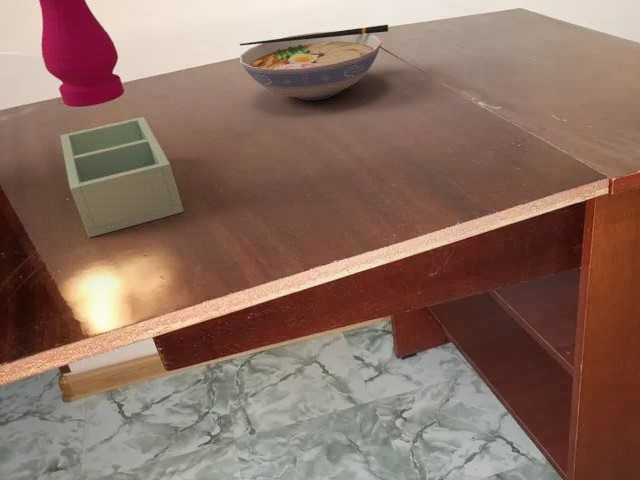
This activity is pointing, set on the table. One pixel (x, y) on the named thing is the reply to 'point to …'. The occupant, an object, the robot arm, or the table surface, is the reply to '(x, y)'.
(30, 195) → the table surface
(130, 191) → the green divided box
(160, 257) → the table surface
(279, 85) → the ramen bowl
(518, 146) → the table surface
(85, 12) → the pepper mill
